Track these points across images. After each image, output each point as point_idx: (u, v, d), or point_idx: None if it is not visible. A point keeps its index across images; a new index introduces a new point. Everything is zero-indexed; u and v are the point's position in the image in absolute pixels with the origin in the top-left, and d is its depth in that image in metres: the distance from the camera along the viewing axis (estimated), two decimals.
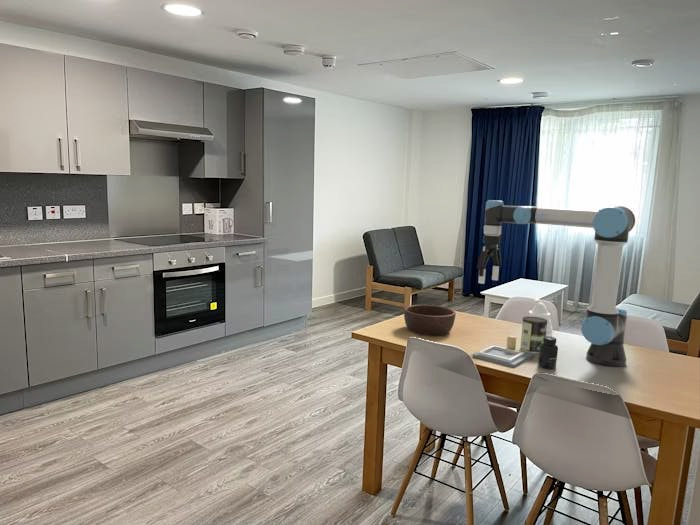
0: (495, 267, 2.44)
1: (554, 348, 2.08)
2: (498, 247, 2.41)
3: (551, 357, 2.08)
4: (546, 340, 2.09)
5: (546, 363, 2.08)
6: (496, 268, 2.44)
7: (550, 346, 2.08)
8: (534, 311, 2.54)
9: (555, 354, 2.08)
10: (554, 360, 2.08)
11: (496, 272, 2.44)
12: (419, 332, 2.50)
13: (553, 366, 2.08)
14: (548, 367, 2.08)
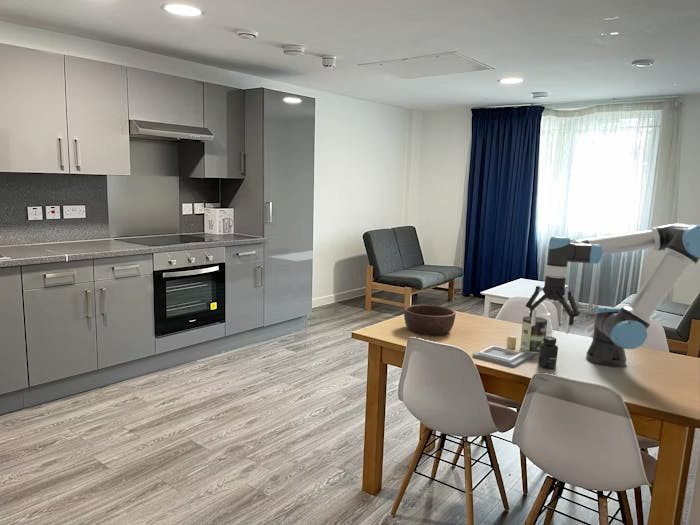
0: None
1: (554, 348, 2.08)
2: (568, 293, 2.03)
3: (551, 357, 2.08)
4: (546, 340, 2.09)
5: (546, 363, 2.08)
6: None
7: (550, 346, 2.08)
8: None
9: (555, 354, 2.08)
10: (554, 360, 2.08)
11: None
12: (419, 332, 2.50)
13: (553, 366, 2.08)
14: (548, 367, 2.08)
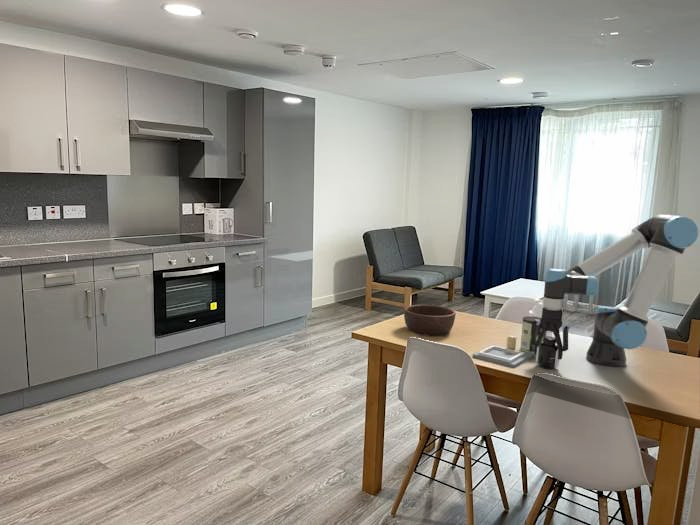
0: None
1: (554, 348, 2.08)
2: (564, 328, 2.05)
3: (551, 357, 2.08)
4: (546, 340, 2.09)
5: (546, 363, 2.08)
6: None
7: (550, 346, 2.08)
8: (534, 311, 2.54)
9: (555, 354, 2.08)
10: (554, 360, 2.08)
11: None
12: (419, 332, 2.50)
13: (553, 366, 2.08)
14: (548, 367, 2.08)
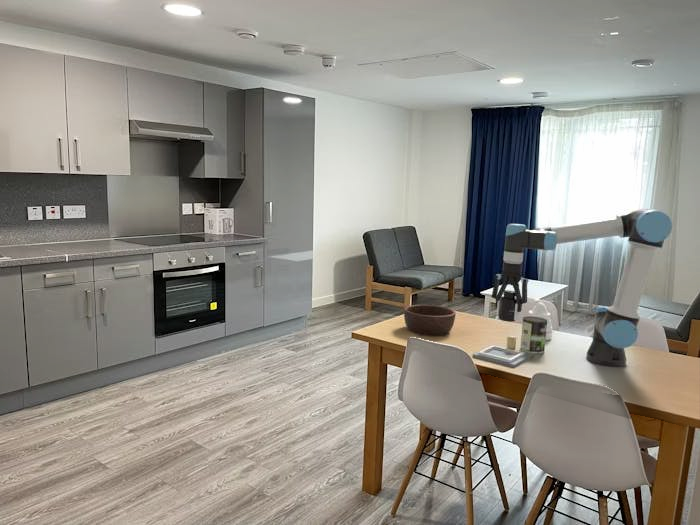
0: None
1: (514, 301, 2.14)
2: (523, 281, 2.11)
3: (511, 310, 2.14)
4: (506, 293, 2.15)
5: (506, 315, 2.14)
6: None
7: (510, 299, 2.14)
8: (534, 311, 2.54)
9: (514, 307, 2.14)
10: (513, 312, 2.14)
11: None
12: (419, 332, 2.50)
13: (512, 318, 2.15)
14: (508, 319, 2.14)
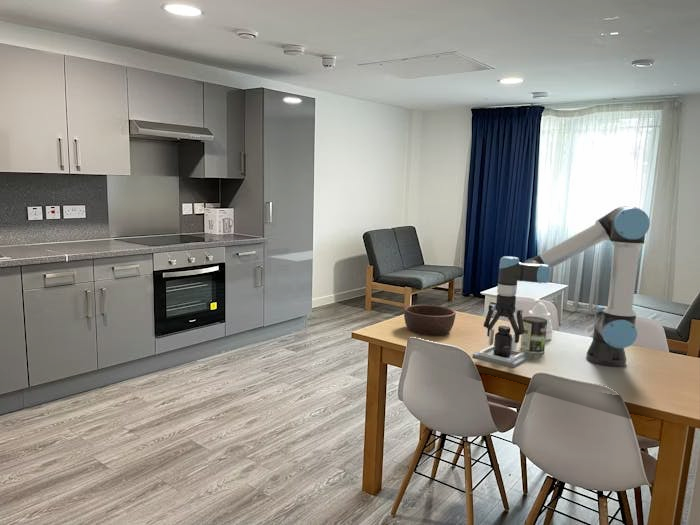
0: None
1: (508, 337, 2.16)
2: (517, 312, 2.14)
3: (505, 346, 2.16)
4: (500, 329, 2.17)
5: (501, 351, 2.17)
6: None
7: (504, 335, 2.17)
8: (534, 311, 2.54)
9: (509, 343, 2.17)
10: (508, 348, 2.17)
11: None
12: (419, 332, 2.50)
13: (507, 354, 2.17)
14: (502, 355, 2.17)
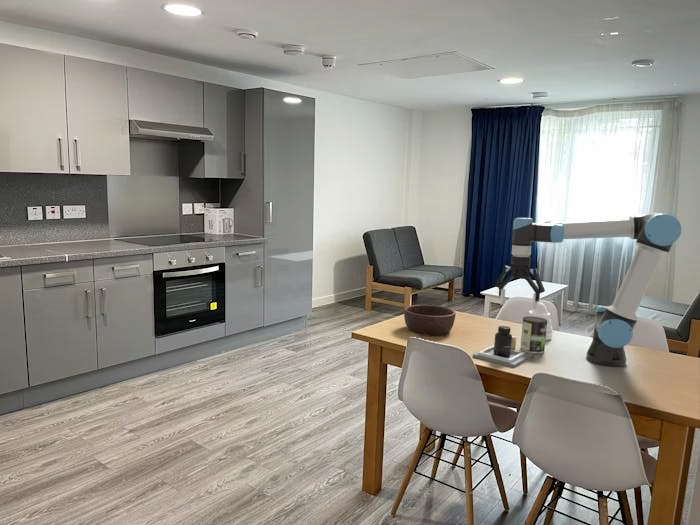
0: None
1: (508, 337, 2.16)
2: (533, 271, 2.13)
3: (505, 346, 2.16)
4: (500, 329, 2.18)
5: (501, 351, 2.17)
6: None
7: (504, 335, 2.17)
8: (534, 311, 2.54)
9: (509, 343, 2.17)
10: (508, 348, 2.17)
11: None
12: (419, 332, 2.50)
13: (507, 354, 2.17)
14: (502, 355, 2.17)
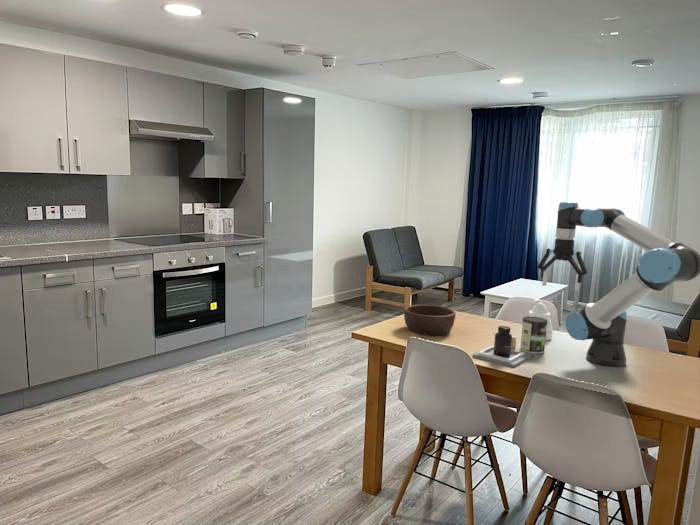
0: None
1: (508, 337, 2.16)
2: (576, 253, 2.21)
3: (505, 346, 2.16)
4: (500, 329, 2.18)
5: (501, 351, 2.17)
6: None
7: (504, 335, 2.17)
8: (534, 311, 2.54)
9: (509, 343, 2.17)
10: (508, 348, 2.17)
11: None
12: (419, 332, 2.50)
13: (507, 354, 2.17)
14: (502, 355, 2.17)
